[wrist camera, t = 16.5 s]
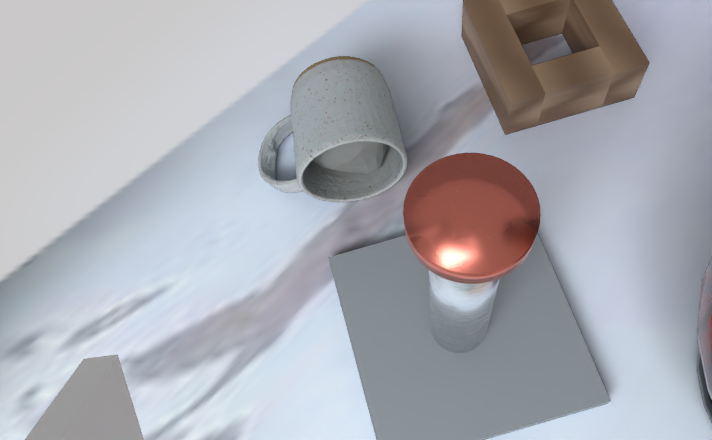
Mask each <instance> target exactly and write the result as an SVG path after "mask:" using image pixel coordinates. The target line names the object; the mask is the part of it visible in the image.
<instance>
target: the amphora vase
mask: <svg viewBox="0 0 712 440" xmlns="http://www.w3.org/2000/svg"><path fill="white" fill-rule="evenodd" d="M697 337H698V345H699V351H698V362H697V373H698V378H699V383H700V388H701V393H702V398H703V404H704V407H705V409H706V412H707V414H708V416H709V418H710V420H711V422H712V257H711V260H710V262H709V264H708V266H707V269H706V271H705V273H704V276H703V278H702V285H701V296H700V306H699V317H698V328H697Z"/></svg>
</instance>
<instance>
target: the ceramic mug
mask: <svg viewBox="0 0 712 440" xmlns="http://www.w3.org/2000/svg"><path fill="white" fill-rule="evenodd" d="M292 132H293V137H294V151H295V166H296V176H297V178H296V179H293V180H286V181H277V180H276V174H275V161H276V156H277V153H276V151H277V149H278V147H279V145H280V144H281V143H282V141H283V140H284V139H285V138H286V137H287V136H289V135H290V133H292ZM407 162H408V160H407V154H406V150H405V146H404V143H403V140H402V136H401V131H400V128H399V124H398V120H397V117H396V114H395V111H394V107H393V103H392V98H391V95H390V91H389V88H388V86H387V84H386V82H385V80H384V78H383V76H382V74H381V73H380V71H379V70H378V69H377V68H376V67H375V66H374V65H372V64H371V63H369V62H367V61H365V60H362V59H360V58H355V57H350V56H339V57H333V58H329V59H325V60H322V61H320V62H317V63H315V64H313V65H311V66H310V67H308V68H307V69H306V70H305V71H304V72H302V73H301V74H300V76H299V77H298V78H297V80H296V82H295V84H294V86H293V90H292V96H291V115H290V116H288V117H286V118H284V119H283V120H281V121H280V122H278V123H277V124H276V125H275V126H274V127H273V128H272V129H271V130H270V131H269V132H268V134H267V136H266V137H265V139H264V141H263V143H262V145H261V149H260V154H259V171H260V174H261V177H262V178H263V179H264V180H265V182H267V183H268V184H270V185H271V186H273V187H274V188H276V189H278V190H280V191H282V192H287V193H293V192H300V191H304V192H305V193H307V194H308V195H310V196H312V197H314V198H316V199H320V200H323V201H330V202H350V201H358V200H362V199H367V198H369V197H373V196H375V195H378V194H380V193H383V192H384V191H386V190H388V189H389V188H391V187H393V186H394V185H395V184H396V183H397V182H398V181H399V180H400V179H401V178H402V176H403V175H404V173H405V171H406V168H407Z"/></svg>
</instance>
